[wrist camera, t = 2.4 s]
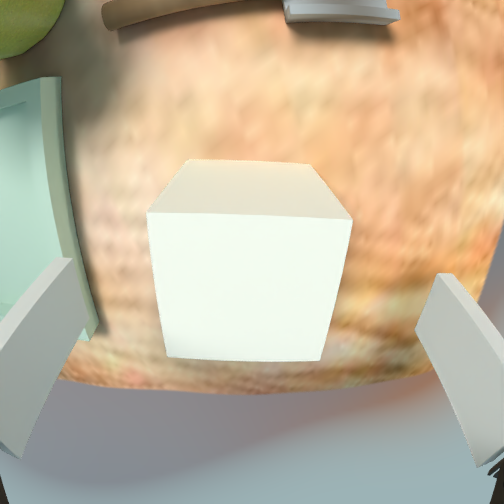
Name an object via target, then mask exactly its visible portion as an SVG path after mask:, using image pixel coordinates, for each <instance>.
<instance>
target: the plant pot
mask: <svg viewBox="0 0 504 504" xmlns="http://www.w3.org/2000/svg"><path fill="white" fill-rule="evenodd" d="M64 2H65V0H0V59H4V58H8V57H12V56H17V55H20V54H23V53H24V52H25V51H27V50H28V49H29V48H31V47H32V46H33V45H35V44H36V43H37V42H39V41H40V40H42V39H43V38H44V37H45V36H46V34H47V33H48V32H49V31H50V29H51V28H52V27H53V25H54V24H55V22H56V20H57V18H58V17H59V15H60V12H61V10H62V8H63V5H64Z"/></svg>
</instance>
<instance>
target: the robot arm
mask: <svg viewBox="0 0 504 504" xmlns="http://www.w3.org/2000/svg"><path fill="white" fill-rule="evenodd" d="M88 320H89V315H88V312H87V309H86V305H85V302H84V299H83V295H82V292H81V288H80V285H79V281H78V277H77V274H76V270H75V266H74V262H73V258H63V257H56V258H55V259H54V260H53V261H52V262H51V263H50V264H49V265H48V266H47V268H46V269H45V270H44V271H43V272H42V273H41V274H40V275H39V276H38V278H37V279H36V280H35V281H34V282H33V283H32V284H31V285H30V287H29V288H28V289H27V290H26V291H25V292H24V294H23V295H22V296H21V297H20V298H19V300H18V301H17V302H16V303H15V304H14V306H13V307H12V308H11V309H10V311H9V312H8V313H7V314H6V316H5V317H4V318H3V319H2V321H1V322H0V449H1V450H2V451H4V452H6V453H8V454H10V455H12V456H14V457H16V458H18V459H20V460H21V458H22V455H23V452H24V450H25V447H26V445H27V443H28V440H29V438H30V436H31V433H32V431H33V428H34V426H35V424H36V422H37V419H38V417H39V415H40V413H41V410H42V408H43V406H44V404H45V402H46V400H47V398H48V396H49V394H50V392H51V389H52V387H53V385H54V383H55V381H56V379H57V377H58V375H59V373H60V371H61V370H62V368H63V366H64V364H65V362H66V360H67V358H68V356H69V354H70V352H71V351H72V349H73V347H74V345H75V343H76V341H77V340H78V338H79V336H80V334H81V332H82V331H83V329H84V327H85V325H86V324H87V322H88ZM414 330H415V332H416V334H417V336H418V338H419V340H420V342H421V343H422V345H423V347H424V349H425V351H426V353H427V355H428V357H429V359H430V361H431V363H432V365H433V367H434V369H435V371H436V373H437V375H438V377H439V379H440V381H441V383H442V386H443V388H444V390H445V392H446V394H447V396H448V398H449V400H450V403H451V405H452V407H453V410H454V411H455V414H456V416H457V419H458V421H459V423H460V426H461V428H462V430H463V433H464V435H465V438H466V440H467V443H468V445H469V448H470V451H471V453H472V456H473V458H474V461H475V464H476V466H477V468H478V467H480V466H483V465H485V464H487V463H489V462H491V461H493V460H495V459H496V458H497V457H498V456H499V455H500V454H501V453H503V452H504V339H503V338H502V336H501V335H500V333H499V332H498V331H497V329H496V328H495V327H494V325H493V324H492V322H491V321H490V320H489V318H488V317H487V316H486V314H485V313H484V312H483V311H482V309H481V308H480V307H479V305H478V304H477V303H476V302H475V300H474V299H473V298H472V297H471V295H470V294H469V293H468V292H467V291H466V289H465V288H464V287H463V286H462V285H461V283H460V282H459V281H458V280H457V279H456V277H455V276H454V275H453V274H452V273H437V275H436V278H435V280H434V283H433V286H432V288H431V291H430V294H429V296H428V299H427V301H426V304H425V306H424V308H423V311H422V313H421V316H420V318H419V320H418V323H417V325H416V327H415V329H414ZM499 468H500V470H499V471H498V472H497V473H495V474H494V476H493V477H495V478H497V481H496V485H495V488H494V491H493V495H492V498H491V501H490V504H504V458H503V459H502V460H501V461H499V462H498V463H497V464H496V465H495V466H493V467H492V468H491V469H490V470H489V473H488V475H491V474H492V473H494V472H495V471H496V470H498V469H499ZM0 504H9V502H8V499H7V496H6V493H5V490H4V487H3V484H2V480H1V477H0Z"/></svg>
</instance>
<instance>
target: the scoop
mask: <svg viewBox="0 0 504 504" xmlns="http://www.w3.org/2000/svg"><path fill="white" fill-rule="evenodd" d="M236 1H245V0H112V1H110V2H107V3H105V4H103V6H102V18H103V22H104V24H105V26H106V28H107V29H108V30H110V31H113V30H116V29H119V28H122V27H125V26H128V25H131V24H134V23H137V22H141V21H144V20H148V19H151V18H155V17H159V16H163V15H167V14H171V13H175V12H179V11H184V10H188V9H193V8H198V7H204V6H209V5H215V4H222V3H229V2H236ZM282 4H283V10H284V16H285V22H286V23H295V22H345V23H363V24H376V25H387V24H390V23H393V22H395V21H398V20H401V19H400V13H399V10H395V9H388V8H387V4H386V0H282Z"/></svg>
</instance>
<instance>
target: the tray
mask: <svg viewBox="0 0 504 504" xmlns="http://www.w3.org/2000/svg"><path fill="white" fill-rule="evenodd" d="M56 257H63V258H73V262H74V266H75V270H76V274H77V277H78V281H79V285H80V288H81V292H82V295H83V299H84V302H85V305H86V309H87V312H88V315H89V320H88V322H87V324H86V325H85V327H84V329H83V331H82V332H81V334H80V336H79V338H78V340H84V341H90V340H91V338H92V336H93V334H94V332H95V330H96V328H97V326H98V324H99V319H98V316H97V312H96V309H95V306H94V302H93V299H92V295H91V292H90V288H89V284H88V280H87V276H86V273H85V268H84V264H83V260H82V256H81V251H80V247H79V242H78V237H77V232H76V227H75V222H74V216H73V211H72V205H71V198H70V192H69V185H68V177H67V169H66V160H65V150H64V138H63V123H62V98H61V77H40V78H37V79H33V80H30V81H27V82H23V83H20V84H17V85H14V86H11V87H8V88H5V89H2V90H0V322H1V321H2V319H3V318H4V317H5V316H6V314H7V313H8V312H9V311H10V309H11V308H12V307H13V306H14V304H15V303H16V302H17V301H18V300H19V298H20V297H21V296H22V295H23V294H24V292H25V291H26V290H27V289H28V288H29V287H30V285H31V284H32V283H33V282H34V281H35V280H36V279H37V278H38V276H39V275H40V274H41V273H42V272H43V271H44V270H45V269H46V268H47V266H48V265H49V264H50V263H51V262H52V261H53V260H54V259H55V258H56Z"/></svg>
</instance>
